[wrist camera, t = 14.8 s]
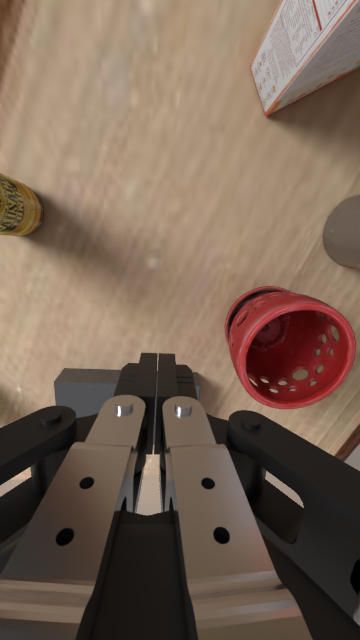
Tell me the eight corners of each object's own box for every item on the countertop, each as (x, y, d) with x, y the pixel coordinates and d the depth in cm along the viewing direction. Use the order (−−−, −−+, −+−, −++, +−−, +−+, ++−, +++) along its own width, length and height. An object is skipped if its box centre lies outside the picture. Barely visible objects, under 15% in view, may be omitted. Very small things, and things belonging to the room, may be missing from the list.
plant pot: (200, 318, 40) (214, 351, 29) (276, 262, 38) (323, 274, 27) (248, 381, 44) (278, 432, 32) (320, 332, 42) (379, 369, 30)
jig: (197, 372, 43) (200, 386, 39) (192, 427, 46) (194, 444, 42) (64, 368, 41) (54, 381, 37) (67, 424, 44) (58, 442, 40)
